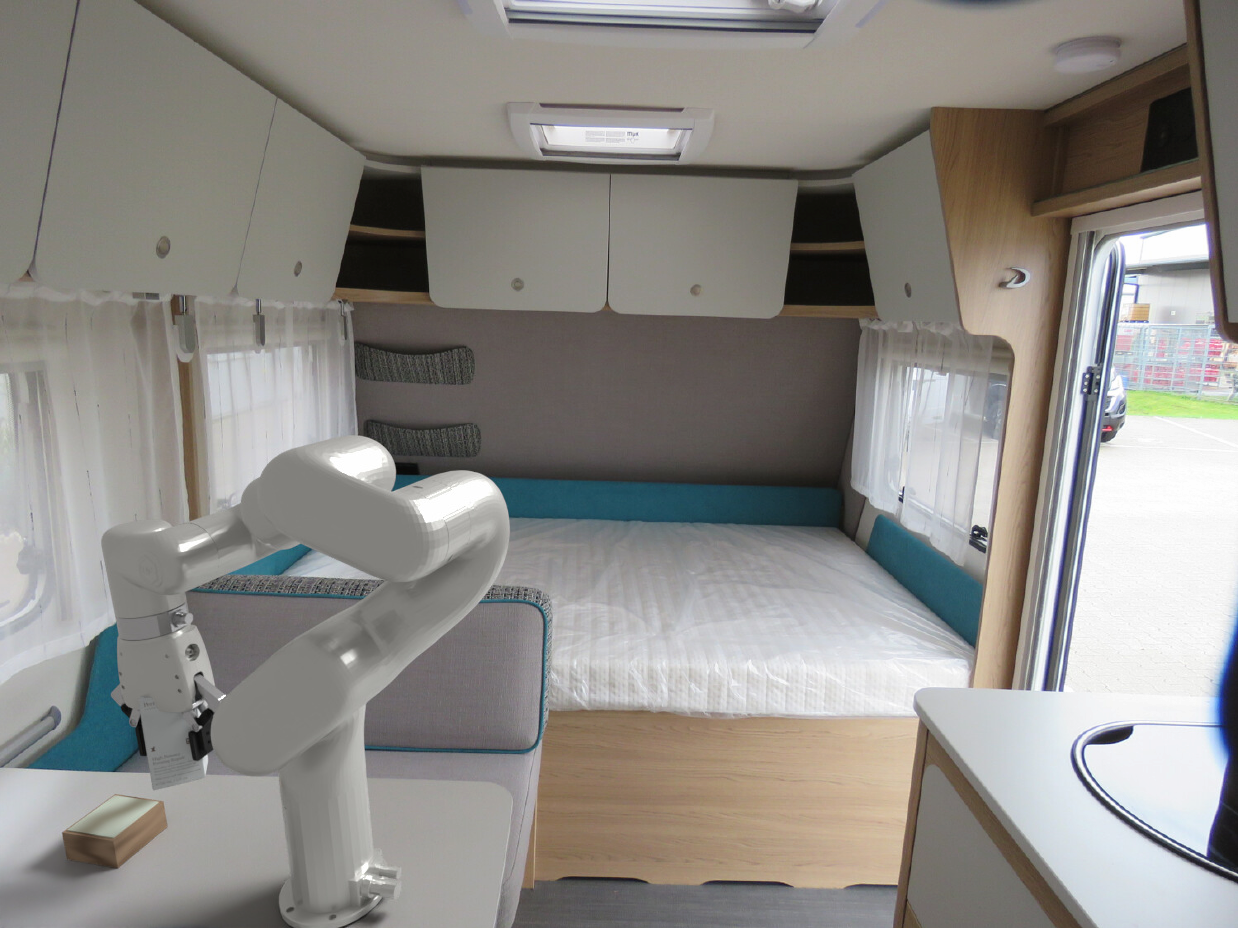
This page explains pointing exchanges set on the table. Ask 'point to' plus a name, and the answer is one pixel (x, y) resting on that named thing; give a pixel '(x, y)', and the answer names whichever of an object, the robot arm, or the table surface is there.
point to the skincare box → (169, 746)
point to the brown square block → (115, 830)
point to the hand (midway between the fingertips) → (178, 751)
